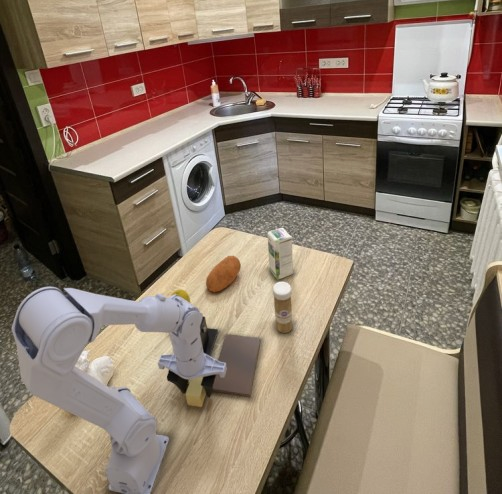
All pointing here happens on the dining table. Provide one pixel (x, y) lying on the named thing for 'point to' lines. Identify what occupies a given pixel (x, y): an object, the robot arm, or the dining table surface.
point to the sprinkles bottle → (283, 306)
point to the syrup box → (280, 253)
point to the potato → (223, 274)
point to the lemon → (182, 294)
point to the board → (238, 365)
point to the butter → (195, 392)
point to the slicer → (207, 337)
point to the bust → (96, 367)
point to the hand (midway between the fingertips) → (197, 390)
